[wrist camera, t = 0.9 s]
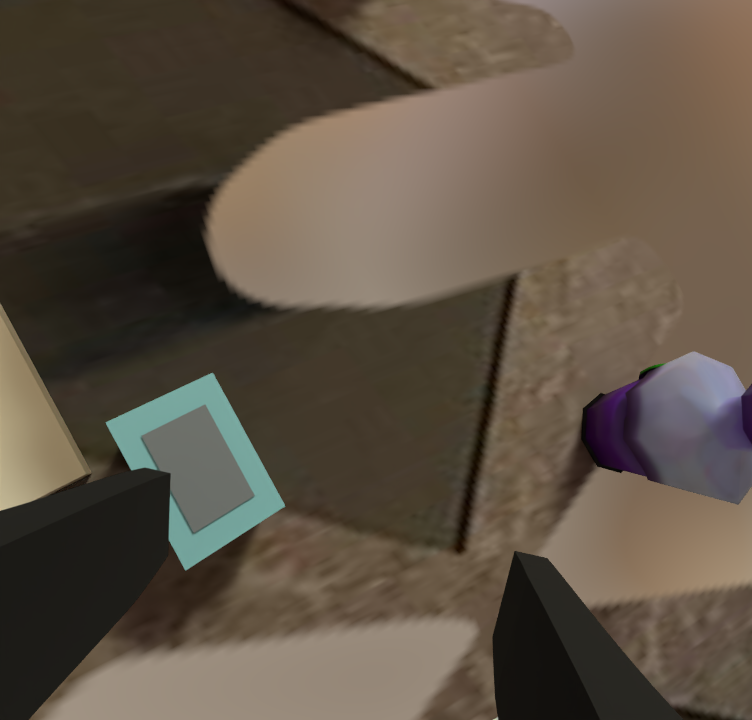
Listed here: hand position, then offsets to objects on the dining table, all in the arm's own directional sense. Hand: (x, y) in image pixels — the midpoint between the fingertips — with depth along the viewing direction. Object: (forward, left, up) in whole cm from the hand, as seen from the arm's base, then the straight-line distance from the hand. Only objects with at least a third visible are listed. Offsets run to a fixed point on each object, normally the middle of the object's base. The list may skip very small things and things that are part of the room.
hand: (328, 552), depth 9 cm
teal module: (-1, +3, -14) cm, 14 cm away
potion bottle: (+23, -9, -14) cm, 28 cm away
